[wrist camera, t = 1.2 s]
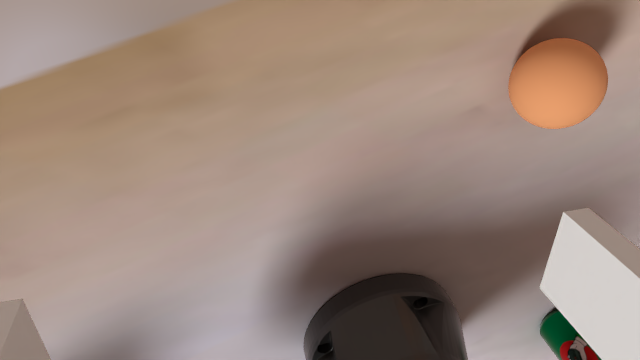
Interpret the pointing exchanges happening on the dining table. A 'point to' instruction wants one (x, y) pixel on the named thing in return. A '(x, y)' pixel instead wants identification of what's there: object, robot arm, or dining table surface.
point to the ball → (558, 83)
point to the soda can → (565, 339)
